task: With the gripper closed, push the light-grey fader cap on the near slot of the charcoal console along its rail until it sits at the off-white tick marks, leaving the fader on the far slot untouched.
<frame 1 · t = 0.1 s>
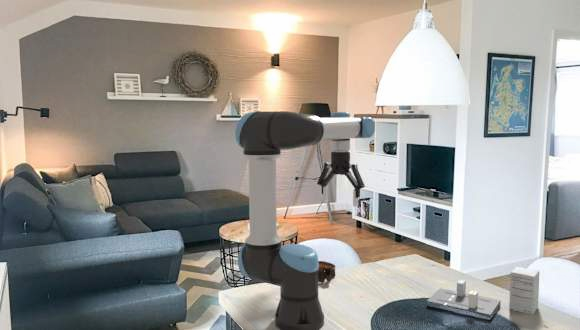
hand: (340, 204, 193), 28 cm above the table, fingers open, 13 cm apart
supplement box: (523, 309, 158), on the table
pottery mug: (325, 280, 187), on the table
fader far: (461, 288, 164), point 5 cm above the table, slide at 2.0 cm
console: (463, 306, 160), on the table
fader near: (473, 299, 154), point 5 cm above the table, slide at -4.0 cm
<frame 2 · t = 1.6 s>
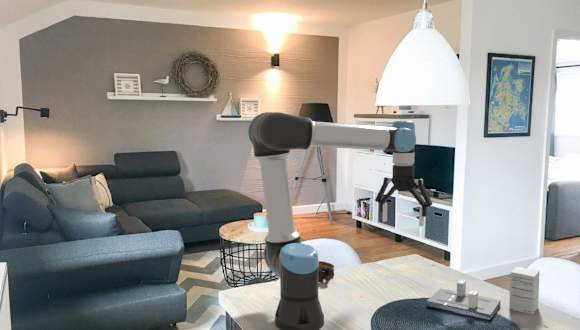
hand: (402, 223, 173), 25 cm above the table, fingers open, 13 cm apart
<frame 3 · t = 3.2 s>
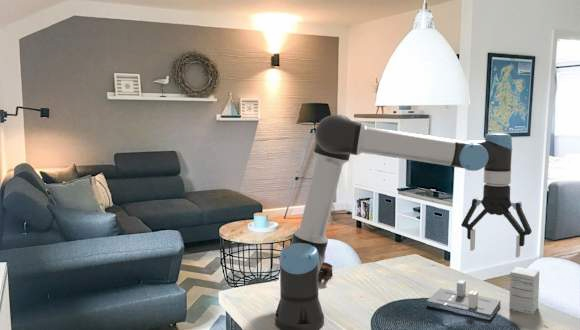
hand: (494, 253, 149), 21 cm above the table, fingers open, 12 cm apart
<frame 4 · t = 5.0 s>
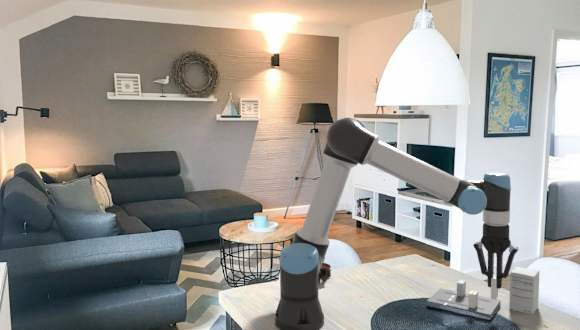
hand: (494, 297, 150), 6 cm above the table, fingers closed
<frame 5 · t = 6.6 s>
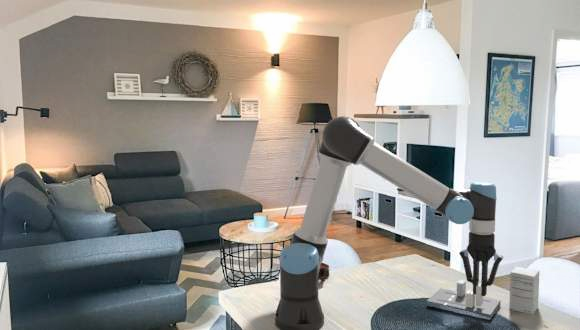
hand: (479, 304, 153), 3 cm above the table, fingers closed
fader near: (470, 298, 154), point 5 cm above the table, slide at -3.1 cm, touching gripper
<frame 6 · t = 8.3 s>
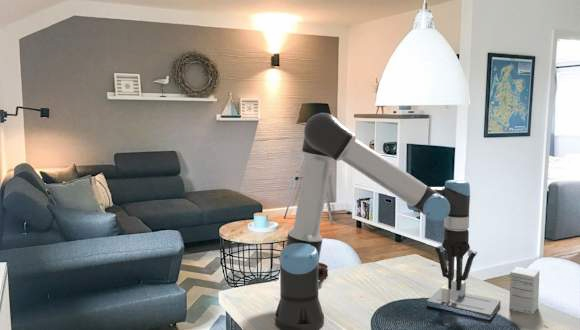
hand: (454, 299, 157), 3 cm above the table, fingers closed
fader near: (446, 293, 159), point 5 cm above the table, slide at 4.6 cm, touching gripper
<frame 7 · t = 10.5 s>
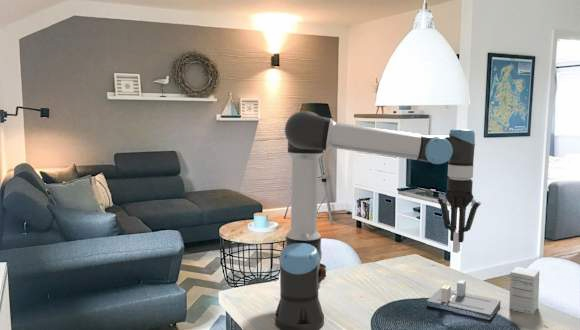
hand: (456, 251, 154), 20 cm above the table, fingers closed
fader near: (445, 293, 159), point 5 cm above the table, slide at 4.7 cm
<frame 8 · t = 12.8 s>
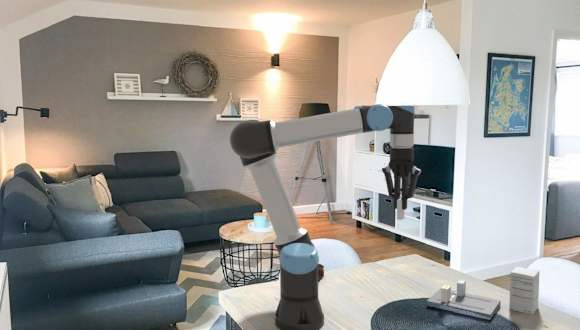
hand: (400, 218, 158), 29 cm above the table, fingers closed
at the end: fader near slide at 4.7 cm; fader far slide at 2.0 cm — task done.
